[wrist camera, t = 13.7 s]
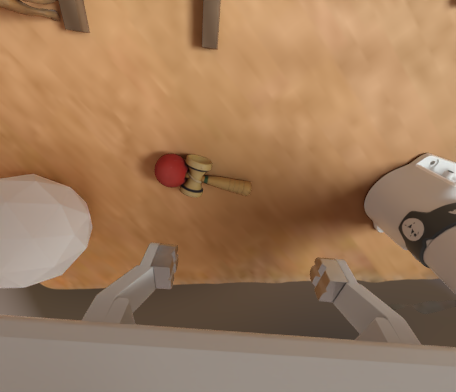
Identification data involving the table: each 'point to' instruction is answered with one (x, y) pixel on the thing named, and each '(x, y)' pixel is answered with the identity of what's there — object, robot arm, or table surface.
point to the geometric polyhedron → (39, 229)
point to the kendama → (194, 175)
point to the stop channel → (77, 21)
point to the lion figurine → (30, 8)
